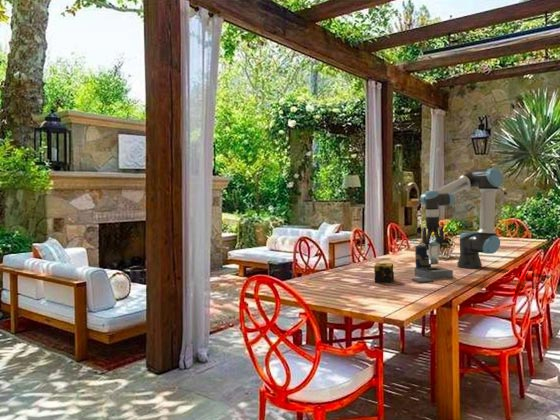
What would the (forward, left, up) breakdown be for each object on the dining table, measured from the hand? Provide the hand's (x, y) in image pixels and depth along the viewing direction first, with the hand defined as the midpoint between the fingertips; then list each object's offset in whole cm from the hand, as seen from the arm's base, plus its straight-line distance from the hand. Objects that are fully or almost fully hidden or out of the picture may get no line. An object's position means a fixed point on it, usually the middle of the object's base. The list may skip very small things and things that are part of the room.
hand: (433, 254), depth 289 cm
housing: (0, 0, -13) cm, 13 cm away
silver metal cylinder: (0, 0, -5) cm, 5 cm away
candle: (+33, +2, -14) cm, 36 cm away
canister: (-2, -15, -13) cm, 20 cm away
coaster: (+13, +10, -13) cm, 21 cm away
